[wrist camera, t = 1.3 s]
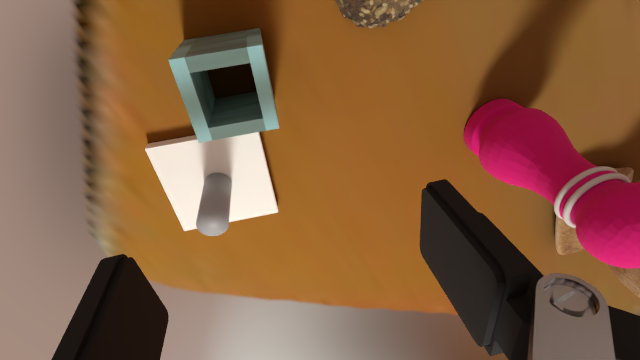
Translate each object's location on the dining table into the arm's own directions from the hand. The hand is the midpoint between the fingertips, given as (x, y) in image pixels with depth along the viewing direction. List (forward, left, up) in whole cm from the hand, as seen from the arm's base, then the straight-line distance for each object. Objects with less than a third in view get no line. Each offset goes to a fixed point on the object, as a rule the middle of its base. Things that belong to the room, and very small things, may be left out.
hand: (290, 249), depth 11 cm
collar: (0, -3, -21) cm, 21 cm away
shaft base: (+10, -7, -21) cm, 24 cm away
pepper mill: (+10, +22, -22) cm, 32 cm away
